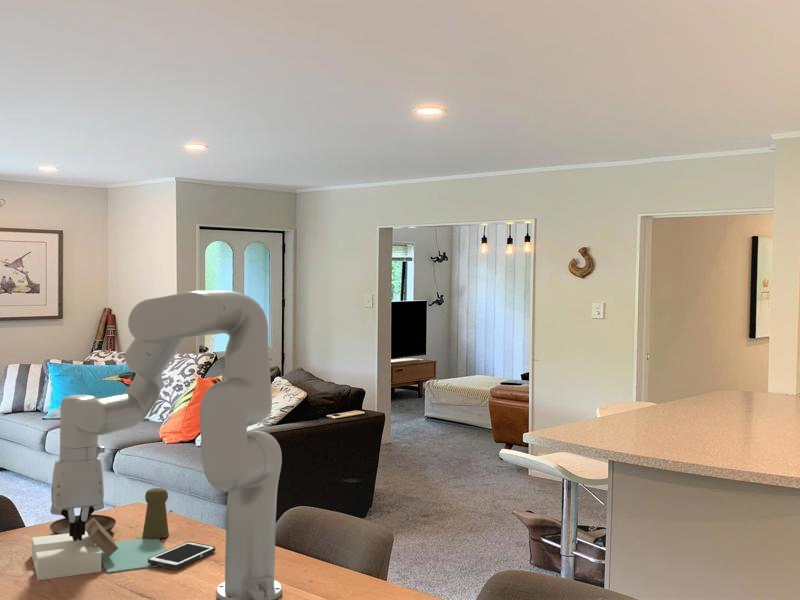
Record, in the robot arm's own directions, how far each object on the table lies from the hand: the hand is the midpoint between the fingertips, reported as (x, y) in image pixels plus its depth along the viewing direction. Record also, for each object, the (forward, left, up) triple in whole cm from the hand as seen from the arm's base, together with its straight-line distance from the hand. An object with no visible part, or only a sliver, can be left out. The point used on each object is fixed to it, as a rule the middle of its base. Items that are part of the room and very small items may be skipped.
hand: (77, 538), depth 172 cm
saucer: (+20, -4, -6) cm, 21 cm away
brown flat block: (+1, -4, -1) cm, 4 cm away
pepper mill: (+11, -19, -5) cm, 22 cm away
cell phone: (-7, -21, -5) cm, 22 cm away
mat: (0, -12, -5) cm, 13 cm away
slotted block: (0, +2, -5) cm, 5 cm away
